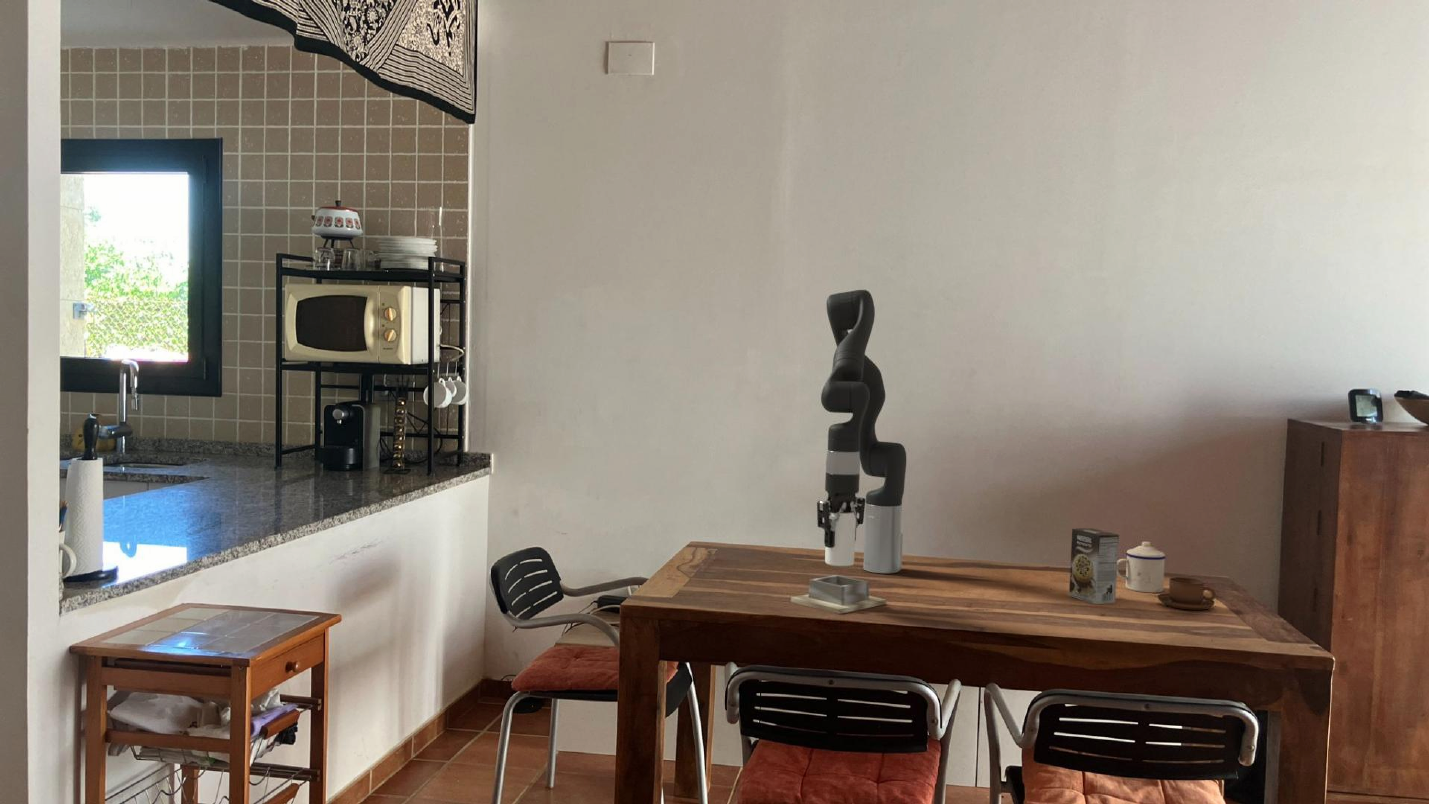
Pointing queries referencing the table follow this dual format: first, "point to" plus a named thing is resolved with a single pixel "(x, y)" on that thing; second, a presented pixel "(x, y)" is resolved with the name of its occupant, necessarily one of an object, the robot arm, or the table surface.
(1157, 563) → the teacup with lid
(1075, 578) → the coffee box
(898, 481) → the robot arm
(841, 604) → the socket
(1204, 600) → the cup and saucer
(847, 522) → the can
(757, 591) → the table surface
